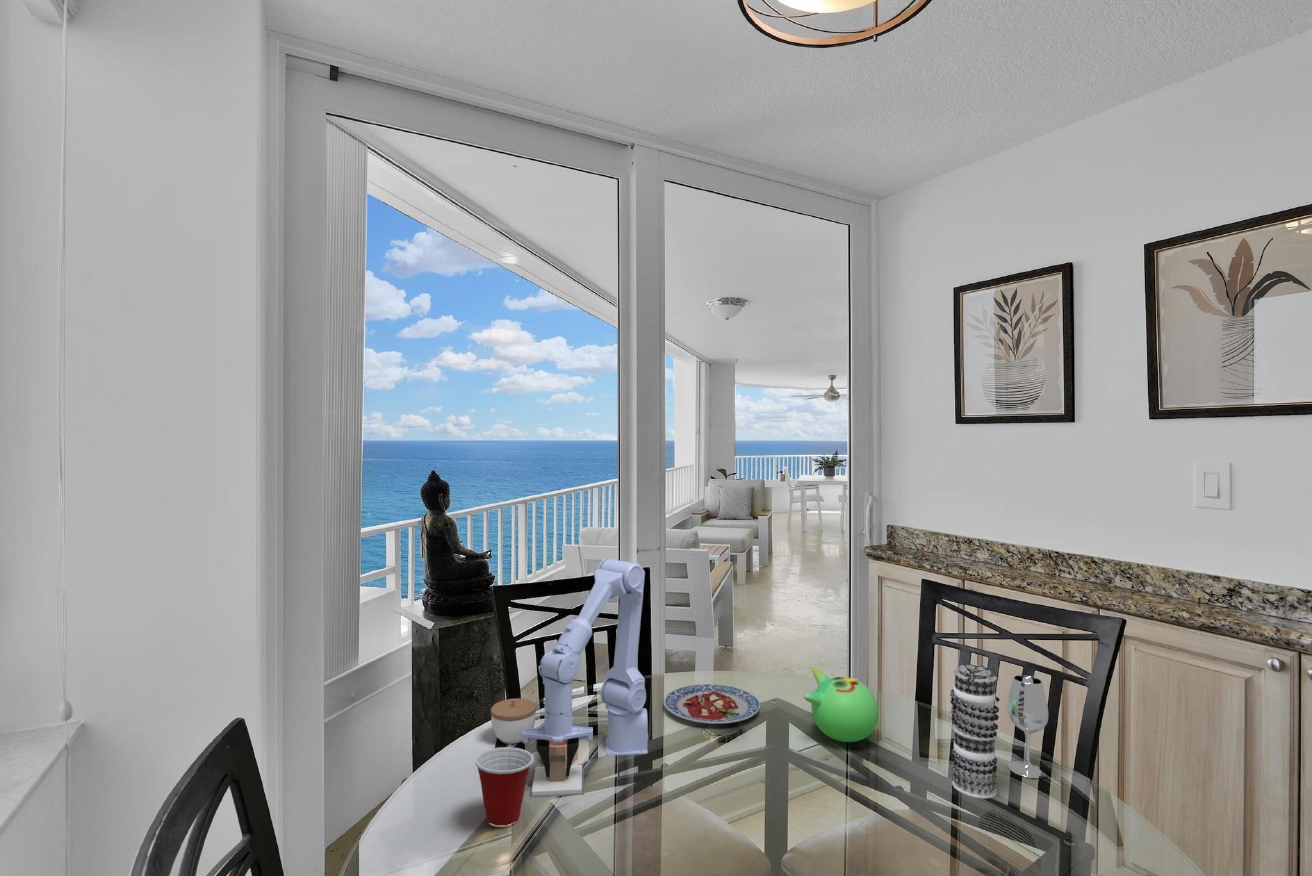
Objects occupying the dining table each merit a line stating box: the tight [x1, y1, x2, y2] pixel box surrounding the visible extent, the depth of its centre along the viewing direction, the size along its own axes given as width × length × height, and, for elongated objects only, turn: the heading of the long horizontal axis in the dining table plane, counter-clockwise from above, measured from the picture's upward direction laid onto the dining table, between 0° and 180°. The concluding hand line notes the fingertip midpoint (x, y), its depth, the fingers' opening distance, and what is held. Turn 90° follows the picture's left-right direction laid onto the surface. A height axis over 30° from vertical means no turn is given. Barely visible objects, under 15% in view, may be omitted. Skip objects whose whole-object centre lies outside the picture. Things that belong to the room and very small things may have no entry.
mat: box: [528, 766, 585, 798], centre depth 136 cm, size 11×11×1 cm
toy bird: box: [803, 667, 880, 743], centre depth 159 cm, size 18×17×15 cm
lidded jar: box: [490, 697, 537, 745], centre depth 157 cm, size 11×11×9 cm
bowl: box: [541, 740, 579, 766], centre depth 147 cm, size 8×8×4 cm
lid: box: [532, 755, 583, 796], centre depth 136 cm, size 10×10×5 cm
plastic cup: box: [475, 746, 534, 825], centre depth 123 cm, size 11×11×12 cm
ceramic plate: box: [663, 683, 761, 725], centre depth 175 cm, size 26×26×3 cm
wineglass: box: [1007, 674, 1049, 779], centre depth 143 cm, size 8×8×20 cm
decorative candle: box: [949, 663, 1001, 799], centre depth 136 cm, size 9×9×25 cm
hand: (557, 774), depth 136 cm, fingers open, 3 cm apart
